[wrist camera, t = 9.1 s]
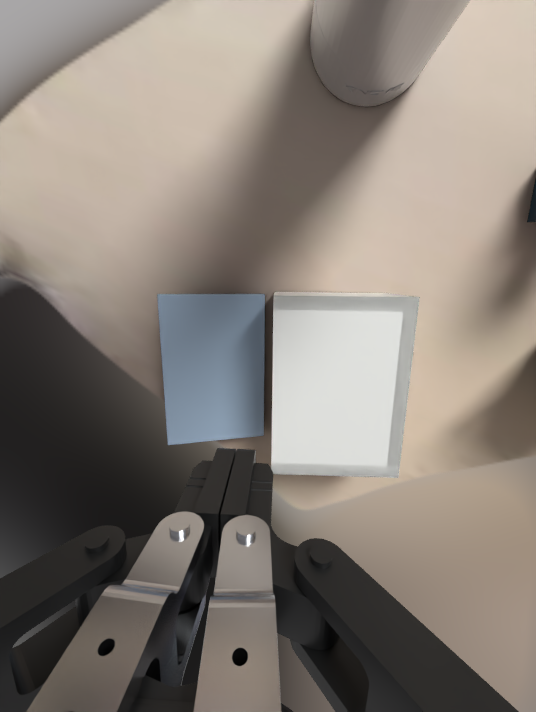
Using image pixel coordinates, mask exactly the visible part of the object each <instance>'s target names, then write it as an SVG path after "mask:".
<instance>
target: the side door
mask: <svg viewBox="0 0 536 712" xmlns="http://www.w3.org/2000/svg"><path fill="white" fill-rule="evenodd" d="M157 297H158V311H159V326H160V340H161V354H162V368H163V382H164V397H165V411H166V425H167V439H168V445H175V444H185V443H194V442H204V441H215V440H225V439H235V438H245V437H255V436H264V330H265V294H157Z"/></svg>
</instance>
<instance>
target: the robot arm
mask: <svg viewBox="0 0 536 712" xmlns="http://www.w3.org/2000/svg"><path fill="white" fill-rule="evenodd" d="M469 1H470V0H314V7H313V15H312V23H311V35H310V47H311V54H312V60H313V63H314V66H315V69H316V72H317V74H318V76H319V77H320V79H321V81H322V83H323V84H324V85H325V86H326V88H327V89H328V90H329V91H330V92H331V93H332V94H333V95H335V96H336V97H338V98H339V99H340V100H342V101H344V102H347V103H349V104H352V105H356V106H365V107H367V106H375V105H380V104H383V103H386V102H388V101H391V100H393V99H394V98H396V97H397V96H399V95H400V94H402V93H403V92H404V91H405V90H406V89H407V88H408V87H409V86H410V85H411V84H412V83H413V82H414V81H415V79H416V78H417V77H418V75H419V74H420V72H421V71H422V69H423V68H424V67H425V65H426V64H427V62H428V61H429V59H430V58H431V56H432V55H433V54H434V52H435V51H436V49H437V48H438V46H439V45H440V44H441V42H442V41H443V39H444V38H445V37H446V35H447V34H448V32H449V31H450V29H451V28H452V26H453V25H454V23H455V22H456V20H457V19H458V17H459V16H460V15H461V13H462V12H463V10H464V9H465V7H466V6H467V4H468V3H469ZM272 486H273V471H272V470H271V468H270V466H269V465H268V464H263V463H256V450H246V449H237V451H236V449H224V448H218V449H217V451H216V453H215V456H214V459H213V461H202V462H201V463H199V464H198V465H197V466H196V467H195V468H194V469H193V471H192V474H191V476H190V479H189V480H188V483H187V485H186V487H185V489H184V491H183V494H182V496H181V498H180V500H179V502H178V505H177V507H176V509H175V511H174V513H173V514H171V515H169V516H167V517H166V518H164V519H163V520H162V521H161V522H160V523H159V524H158V526H157V527H156V529H155V530H154V532H153V533H151V534H148V535H144V536H140V537H134V538H129V539H125V534H124V532H123V530H121V529H120V528H119V527H116V526H100V527H96V528H94V529H92V530H89V531H87V532H85V533H83V534H81V535H80V536H78V537H76V538H74V539H72V540H70V541H69V542H67V543H65V544H63V545H61V546H59V547H57V548H56V549H54V550H52V551H50V552H48V553H46V554H45V555H43V556H41V557H39V558H38V559H36V560H33V561H32V562H30V563H28V564H26V565H24V566H23V567H21V568H19V569H17V570H15V571H13V572H11V573H10V574H8V575H6V576H4V577H3V578H0V712H293V711H292V710H291V709H289V708H288V707H286V706H285V705H283V704H282V703H281V697H280V680H279V661H278V643H277V633H279V634H281V635H283V636H285V637H287V638H289V639H290V641H291V645H292V648H293V650H294V651H295V653H296V655H297V656H298V658H299V659H300V660H301V662H302V663H303V665H304V666H305V668H306V669H307V670H308V672H309V674H310V675H311V677H312V678H313V679H314V681H315V682H316V684H317V685H318V687H319V688H320V689H321V691H322V693H323V694H324V695H325V697H326V698H327V700H328V701H329V703H330V704H331V706H332V707H333V709H334V710H335V712H518V711H517V710H516V709H515V708H514V707H513V706H512V705H511V704H510V703H508V701H506V700H505V699H504V698H503V697H502V696H501V695H500V694H499V693H498V692H496V691H495V690H494V689H493V688H492V687H491V686H490V685H489V684H488V683H487V682H486V681H484V680H483V679H482V678H481V677H480V676H479V675H478V674H477V673H476V672H475V671H474V670H473V669H471V668H470V667H469V666H468V665H467V664H466V663H465V662H464V661H463V660H462V659H460V658H459V657H458V656H457V655H456V654H455V653H454V652H453V651H452V650H450V648H448V647H447V646H446V645H445V644H444V643H443V642H442V641H441V640H440V639H439V638H437V637H436V636H435V635H434V634H433V633H432V632H431V631H430V630H429V629H428V628H426V627H425V626H424V625H423V624H422V623H421V622H420V621H419V620H418V619H417V618H416V617H414V616H413V615H412V614H411V613H410V612H409V611H408V610H407V609H406V608H405V607H403V606H402V605H401V604H400V603H399V602H398V601H397V600H396V599H395V598H394V597H393V596H391V595H390V594H389V593H388V592H387V591H386V590H385V589H384V588H383V587H382V586H381V585H379V584H378V583H377V582H376V581H375V580H374V579H373V578H372V577H371V576H370V575H369V574H367V573H366V572H365V571H364V570H363V569H362V568H361V567H360V566H359V565H358V564H356V563H355V562H354V561H353V560H352V559H351V558H350V557H349V556H348V555H347V554H346V553H344V552H343V551H342V550H341V549H340V548H339V547H338V546H336V545H335V544H333V543H332V542H330V541H327V540H324V539H317V538H314V539H309V540H306V541H304V542H302V543H301V544H300V545H299V546H298V547H297V546H294V545H291V544H288V543H286V542H284V541H283V540H281V539H280V538H278V537H277V535H276V534H275V533H274V532H273V530H272V527H271V511H272ZM210 577H216V582H215V590H214V595H211V598H210V603H209V609H208V616H207V623H206V630H205V637H204V644H203V651H202V658H201V664H200V671H199V678H198V682H196V683H192V684H188V685H184V686H181V683H182V679H183V674H184V671H185V667H186V664H187V661H188V658H189V655H190V651H191V648H192V645H193V641H194V639H195V635H196V632H197V629H198V625H199V622H200V619H201V615H202V612H203V609H204V606H205V602H206V591H207V588H208V583H209V579H210ZM74 600H75V602H76V607H74V608H73V609H71V610H70V611H68V612H67V613H66V614H64V615H63V616H61V617H60V618H58V619H57V620H55V621H54V622H52V623H51V624H50V625H48V626H47V627H45V628H44V629H42V630H41V631H39V632H38V633H36V634H35V635H34V636H32V637H31V638H29V639H28V640H26V641H25V642H23V643H22V644H20V645H19V646H17V647H14V648H12V647H13V645H14V644H15V642H16V641H17V640H18V639H19V638H20V637H21V636H22V635H23V634H25V633H26V632H28V631H29V630H31V629H32V628H34V627H35V626H36V625H38V624H40V623H41V622H42V621H44V620H45V619H47V618H48V617H50V616H51V615H53V614H54V613H56V612H57V611H59V610H60V609H62V608H63V607H65V606H66V605H68V604H69V603H71V602H72V601H74Z"/></svg>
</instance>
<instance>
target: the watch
mask: <svg viewBox="0 0 536 712" xmlns="http://www.w3.org/2000/svg"><path fill="white" fill-rule="evenodd" d="M527 222H536V180H535V185H534V190H533V195H532V200H531V205H530V210H529V216H528V221H527Z"/></svg>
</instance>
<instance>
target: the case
mask: <svg viewBox="0 0 536 712" xmlns="http://www.w3.org/2000/svg"><path fill="white" fill-rule="evenodd" d="M419 298H420V297H415V296H407V295H399V294H392V293H355V292H275V293H274V299H273V377H272V455H271V470H272V471H273V474H286V475H320V476H354V477H389V478H398V476H399V468H400V459H401V451H402V442H403V434H404V425H405V417H406V408H407V400H408V391H409V383H410V374H411V366H412V357H413V349H414V340H415V332H416V323H417V315H418V306H419Z"/></svg>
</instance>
